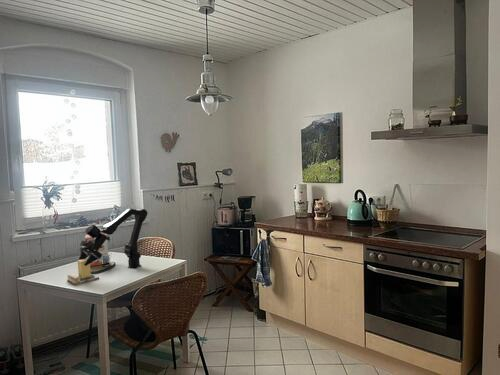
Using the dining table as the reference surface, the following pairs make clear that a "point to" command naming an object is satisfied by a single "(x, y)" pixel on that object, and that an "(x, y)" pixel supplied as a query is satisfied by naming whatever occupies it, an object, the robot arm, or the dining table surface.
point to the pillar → (83, 269)
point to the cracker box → (102, 250)
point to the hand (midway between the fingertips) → (81, 264)
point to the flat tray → (77, 280)
